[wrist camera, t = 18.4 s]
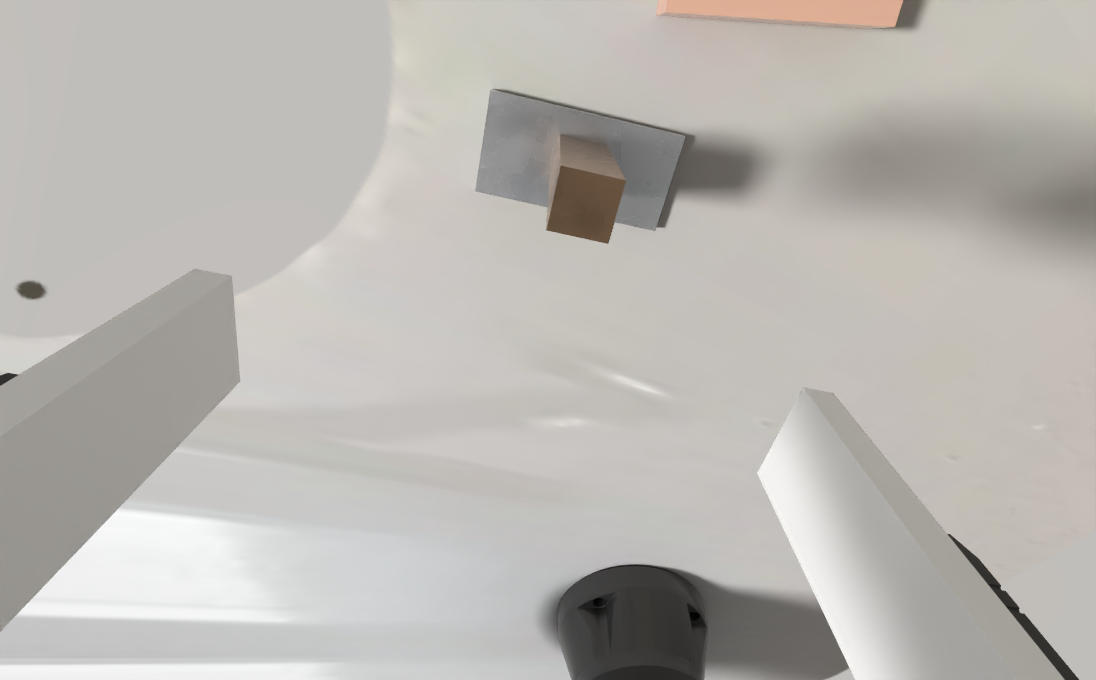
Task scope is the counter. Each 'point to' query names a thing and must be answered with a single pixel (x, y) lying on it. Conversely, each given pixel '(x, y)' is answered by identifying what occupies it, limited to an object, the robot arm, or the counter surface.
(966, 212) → the counter surface
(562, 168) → the trowel
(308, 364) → the counter surface
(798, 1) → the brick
